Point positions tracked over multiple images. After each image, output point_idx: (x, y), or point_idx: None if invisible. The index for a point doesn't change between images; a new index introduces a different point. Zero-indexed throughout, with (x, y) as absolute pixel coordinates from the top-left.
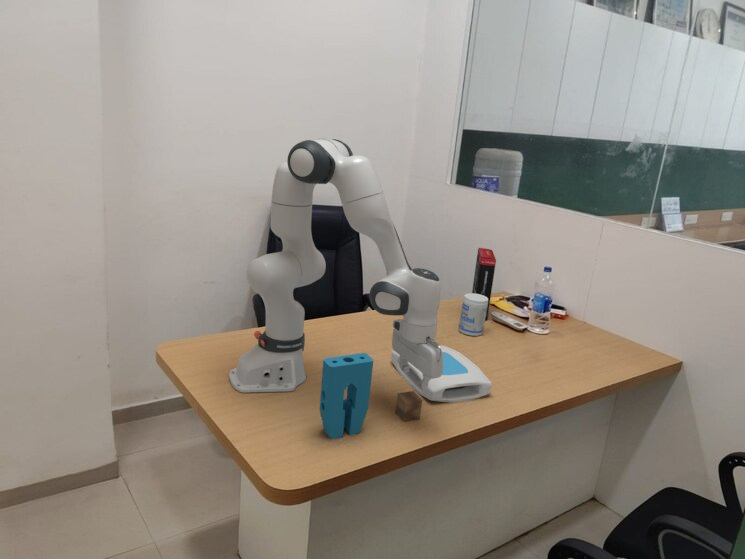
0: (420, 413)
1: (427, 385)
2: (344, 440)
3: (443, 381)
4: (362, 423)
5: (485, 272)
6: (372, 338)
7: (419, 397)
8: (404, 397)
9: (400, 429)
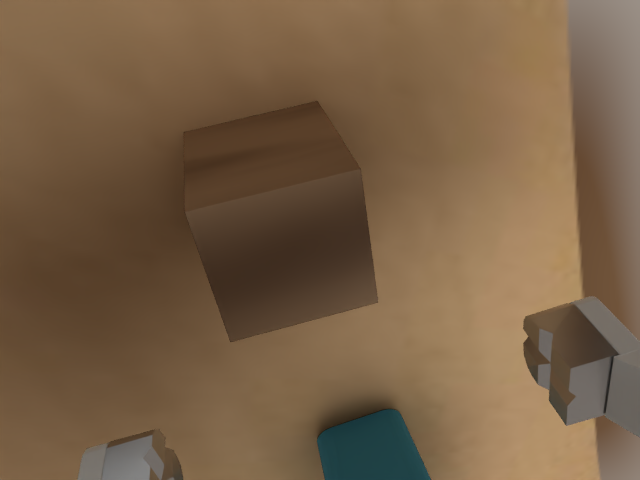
0: (327, 117)
1: (606, 312)
2: (434, 452)
3: None
4: (412, 443)
5: None
6: None
7: (310, 183)
8: (300, 302)
9: (407, 243)
